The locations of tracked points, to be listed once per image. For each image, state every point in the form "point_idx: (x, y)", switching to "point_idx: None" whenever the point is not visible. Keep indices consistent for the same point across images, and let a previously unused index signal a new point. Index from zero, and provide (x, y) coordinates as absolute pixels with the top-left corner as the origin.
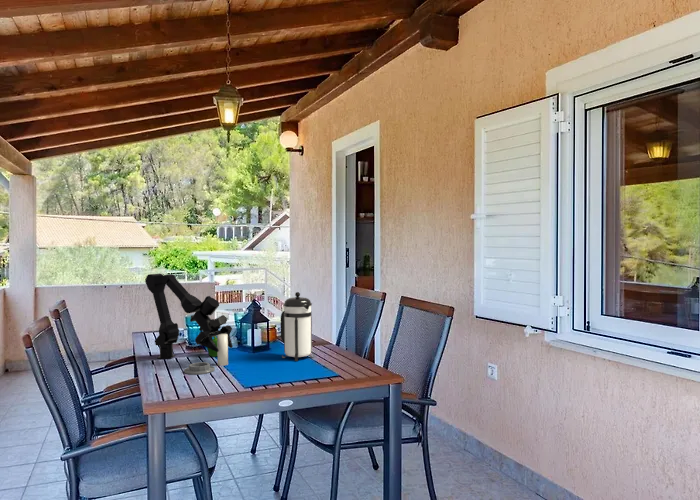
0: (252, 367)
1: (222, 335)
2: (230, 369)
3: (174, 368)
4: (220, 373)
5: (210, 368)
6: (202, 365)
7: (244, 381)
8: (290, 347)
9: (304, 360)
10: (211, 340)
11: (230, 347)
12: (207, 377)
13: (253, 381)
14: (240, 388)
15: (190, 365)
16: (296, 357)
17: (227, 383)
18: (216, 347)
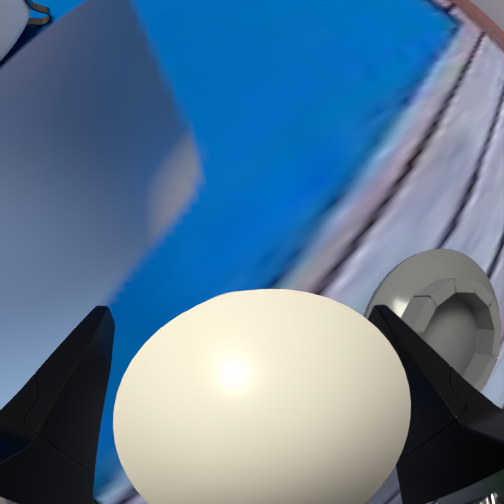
0: (221, 87)
1: (377, 351)
2: (330, 180)
3: None
4: (423, 182)
5: (414, 288)
6: None
7: (429, 35)
8: (8, 3)
9: (33, 13)
10: (478, 411)
11: (113, 332)
12: (489, 200)
13: (408, 12)
14: (471, 32)
15: (485, 376)
16: (42, 8)
17: (478, 80)
18: (405, 332)
